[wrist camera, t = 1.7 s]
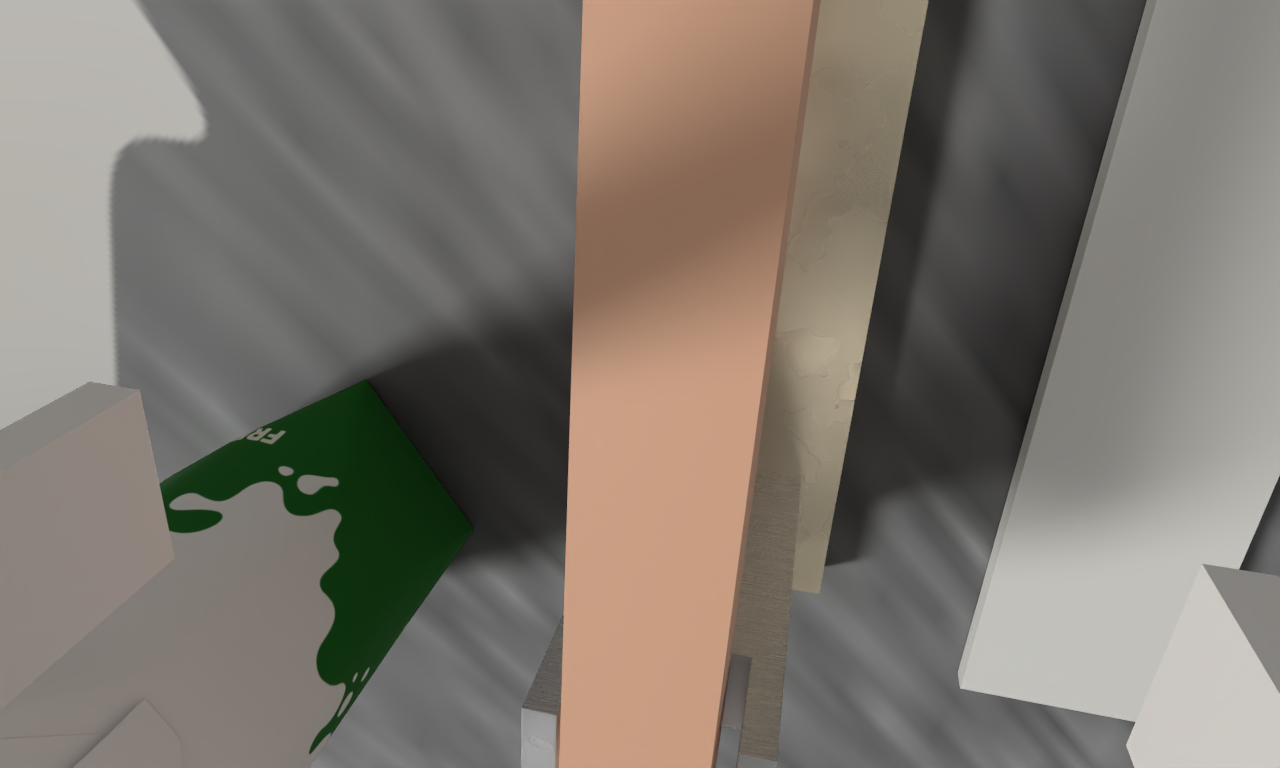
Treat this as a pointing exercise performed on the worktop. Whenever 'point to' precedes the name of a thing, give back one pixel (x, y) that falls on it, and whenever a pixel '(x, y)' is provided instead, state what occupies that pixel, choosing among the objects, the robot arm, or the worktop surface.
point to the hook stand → (802, 359)
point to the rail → (671, 357)
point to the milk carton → (254, 603)
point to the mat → (1149, 376)
